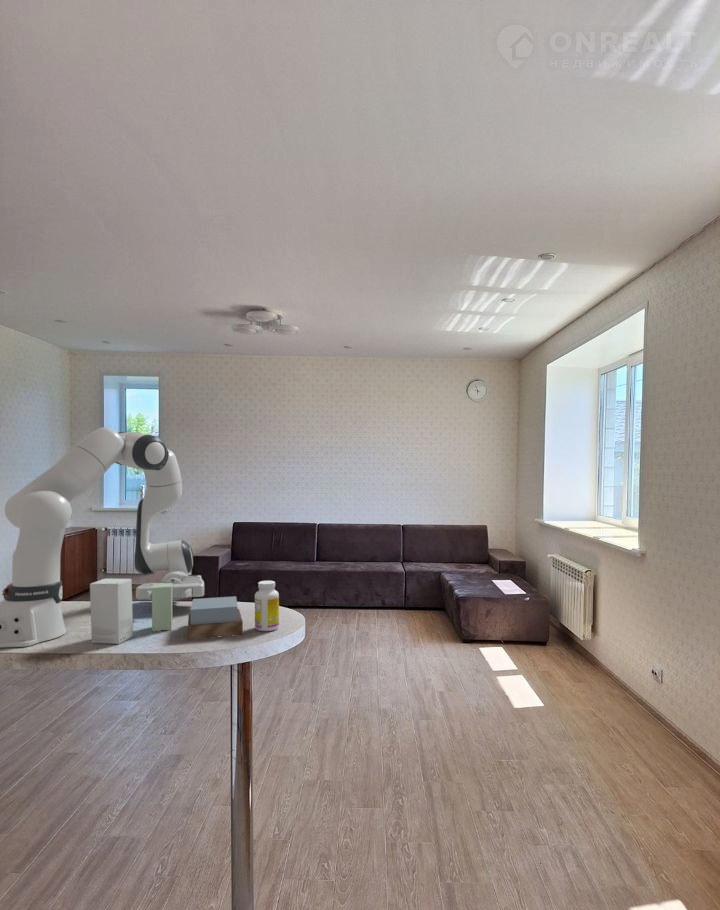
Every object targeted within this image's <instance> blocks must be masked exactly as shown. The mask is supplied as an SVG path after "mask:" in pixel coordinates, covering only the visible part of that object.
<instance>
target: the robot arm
mask: <svg viewBox="0 0 720 910" xmlns="http://www.w3.org/2000/svg"><path fill="white" fill-rule="evenodd" d="M114 464H117V465H120V466H125V467H128V468H132V469H142V471H143V473H144V477H145V487H146V491H145V494H144V497H143V498H141V499H140V500H139V502H138V505H137V509H136V522H135V523H136V525H135V526H136V527H135V528H136V529H135V548H134V549H135V551H134V554H133V566H134V569H135V571H136V572H138V573H139V574H141V575H143V576H149V575H153V574H156V573H163V572H166V574H165V575H164V577H163V578H161V580H160V581H159V582H146V583H141V584H140V585H139V586H137V587H136V589H135V599H136V600H149V601H152V587H153V585H154V584H163V583H172V602H175V601H179V600H182V599H188V598H196V597H204V596H205V582H204V580H203V578H202V575H199V574H191V571H192V569H193V567H194V554H193V550H192V547H191V546H190V545H189V544H188V542H186V541H185V540H184V539H181V540H172V541H166V542H158V543H151V542H150V532H151V531H150V530H151V529H150V525H151V520H152V519H153V518H154V517H155V516H157V515H159V514H161V513H163V512H165V511H167V510H169V509H172V507H174V506H175V505H176V504H177V503H178V502H179V501H181V498H182V494H183V480H182V475H181V470H180V466H179V463H178V460H177V457H176V453H174V452H173V451H172V450H170V449H168V448H167V446H166V444H165V442H164V441H163V440H162V439H161V438H160V437H157V436H156V435H152V434H145V433H141V432H138V431H137V432H136V431H135V432H134V431H119V432H117V431H116V430H114V429H113V428H110V427H99V428H97V429H95V430H93V431H92V432H90V433H89V434H87V435H86V436H85V437H84V438H82V439H81V440H79V441H78V442H77V443H76V444H75V445H73V447H72V448H71V449H69V451H67V452H66V453H65V455H64V456H62V457H61V458H60V459H58V461H57V462H56V463H55V464H54V465H52V466H51V467H50V468H49V469H47V470H46V471H45V472H43V473H41V474H40V475H39V476H37V477H35V479H33V480H31V481H30V482H29V483H28V484H27V485H26V486H24V487H22V488H21V489H19V491H17V492H16V493H15V494H13V495H12V496H10V497H9V498H8V499H7V501H6V503H5V506H4V514H5V517H6V519H7V520H8V521H9V522H10V524H12V525H13V526H14V527H15V528H18V529H19V533H18V537H17V543H16V546H15V549H14V552H13V554H12V565H11V566H12V567H11V568H12V571H11V573H12V581H11V583H9V584H8V585H6V587H5V588H3V590H2V591H1V592H2V593H1V596H3V600H1V601H0V648H19V647H21V648H22V647H30V646H33V645H35V644H39V643H43V642H45V641H46V642H47V641H50V640H53V639H56V638H59V637H62V636H63V635H65V634H66V633H67V631H68V630H67V628H66V625H65V620H64V617H63V610H62V601H63V600H62V599H63V581H62V580H61V552H62V547H63V546H62V545H63V541H64V538H65V533H66V528H67V525H68V523H69V522H70V520H71V517H72V513H73V509H72V506H71V502H72V501H73V500H75V499H77V498H78V497H79V496H82V495H83V494H85V493H86V492H87V491H88V490H89V489H91V488H92V486H94V484H95V483H96V482H97V481H98V480H99V479H100V478H102V476H103V475H104V474H105V473H106V472H107V471H108V470H109V469H110V468H111V466H113V465H114Z"/></svg>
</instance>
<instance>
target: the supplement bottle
mask: <svg viewBox="0 0 720 910" xmlns="http://www.w3.org/2000/svg"><path fill="white" fill-rule="evenodd" d="M257 584H258V586H257V587H258V591H256V592H255V594H254V628H255V630H257V631H259V632H271V631H272V632H273V631H276V630H277V629H279V627H280V595H279V591H277V590H276V589H275V588H276V582H275V581H273V580H261V581H259V582H257Z"/></svg>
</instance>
